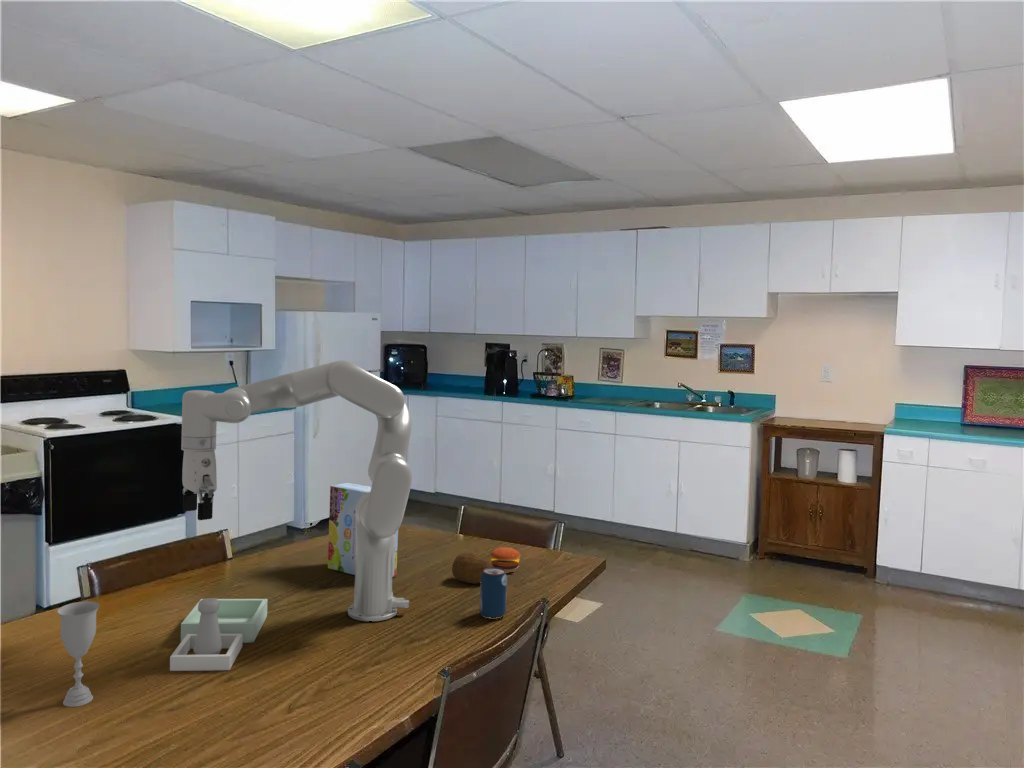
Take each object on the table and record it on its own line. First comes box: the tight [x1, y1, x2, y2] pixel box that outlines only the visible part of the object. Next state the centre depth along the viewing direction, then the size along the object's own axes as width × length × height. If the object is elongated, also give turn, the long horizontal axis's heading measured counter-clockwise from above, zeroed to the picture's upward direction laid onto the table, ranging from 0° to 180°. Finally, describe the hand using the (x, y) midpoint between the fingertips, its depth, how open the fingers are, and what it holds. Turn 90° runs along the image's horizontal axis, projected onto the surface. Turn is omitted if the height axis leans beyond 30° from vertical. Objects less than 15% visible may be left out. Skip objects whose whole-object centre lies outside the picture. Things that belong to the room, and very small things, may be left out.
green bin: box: [180, 598, 268, 644], centre depth 179 cm, size 16×16×4 cm
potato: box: [451, 552, 492, 584], centre depth 220 cm, size 8×12×9 cm
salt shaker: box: [192, 597, 223, 655], centre depth 163 cm, size 6×6×13 cm
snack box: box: [327, 482, 399, 578], centre depth 225 cm, size 22×9×26 cm, turn 58°
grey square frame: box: [169, 634, 244, 672], centre depth 163 cm, size 12×12×3 cm
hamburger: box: [489, 546, 522, 570], centre depth 235 cm, size 9×10×7 cm
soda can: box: [478, 567, 508, 618], centre depth 195 cm, size 7×7×12 cm
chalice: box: [57, 600, 100, 708], centre depth 143 cm, size 7×7×18 cm
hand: (197, 514), depth 177 cm, fingers open, 9 cm apart
